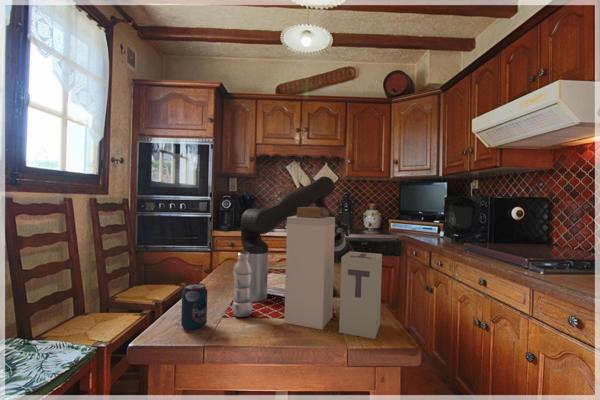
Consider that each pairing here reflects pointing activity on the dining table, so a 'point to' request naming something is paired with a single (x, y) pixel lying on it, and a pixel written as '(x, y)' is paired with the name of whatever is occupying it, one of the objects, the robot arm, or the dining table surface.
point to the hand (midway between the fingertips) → (325, 220)
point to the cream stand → (309, 271)
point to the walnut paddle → (312, 212)
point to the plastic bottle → (242, 286)
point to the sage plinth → (360, 294)
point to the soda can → (194, 307)
